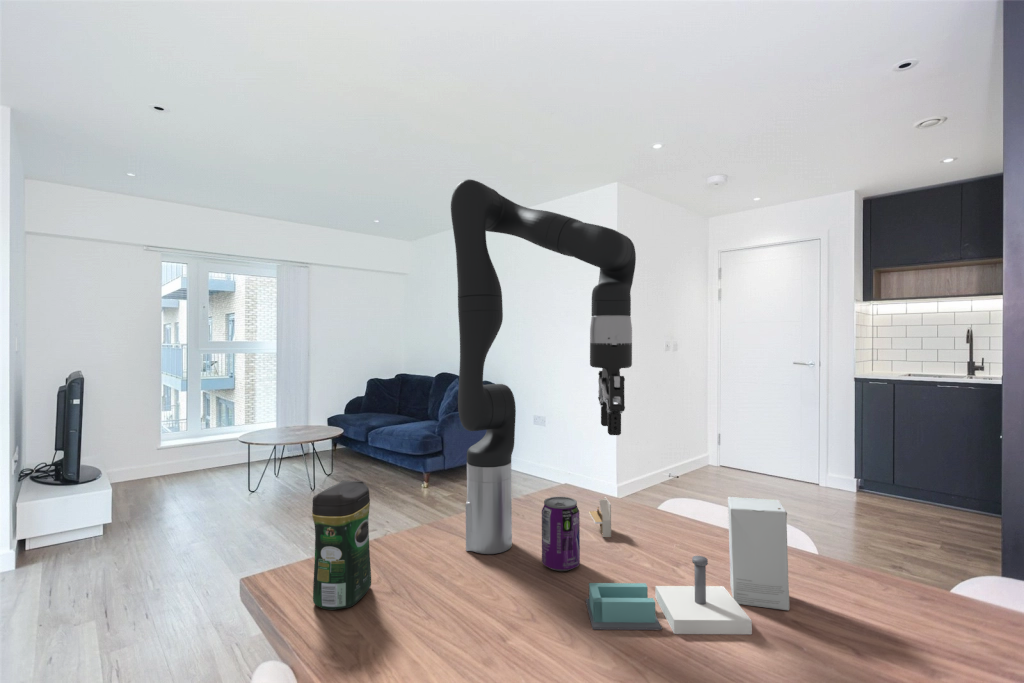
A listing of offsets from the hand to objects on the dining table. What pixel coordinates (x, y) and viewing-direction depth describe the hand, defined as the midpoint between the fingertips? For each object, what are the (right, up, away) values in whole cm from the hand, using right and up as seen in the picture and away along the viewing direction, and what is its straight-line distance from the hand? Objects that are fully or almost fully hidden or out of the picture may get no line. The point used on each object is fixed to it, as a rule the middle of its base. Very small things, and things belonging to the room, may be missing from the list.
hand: (610, 430), depth 91 cm
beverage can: (-9, -26, +3) cm, 28 cm away
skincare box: (+22, -26, -10) cm, 35 cm away
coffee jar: (-46, -26, -8) cm, 54 cm away
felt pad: (-1, -26, -14) cm, 29 cm away
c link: (-1, -25, -14) cm, 29 cm away
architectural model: (+2, -27, +19) cm, 32 cm away
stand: (+11, -26, -15) cm, 31 cm away
